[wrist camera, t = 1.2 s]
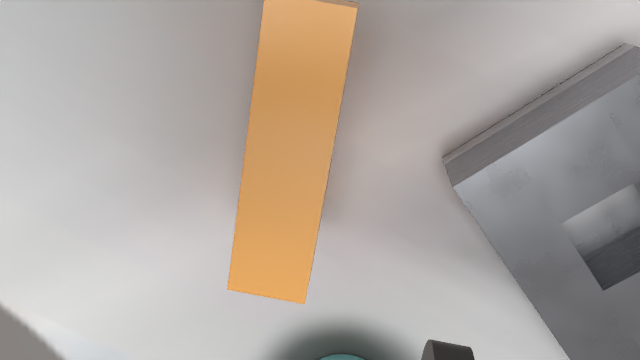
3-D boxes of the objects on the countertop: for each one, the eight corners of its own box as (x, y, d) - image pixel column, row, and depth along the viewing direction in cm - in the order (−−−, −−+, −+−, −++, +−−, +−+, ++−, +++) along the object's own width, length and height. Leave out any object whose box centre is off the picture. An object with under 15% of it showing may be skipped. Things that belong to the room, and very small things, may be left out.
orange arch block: (292, -14, 26) (265, -8, 20) (361, -2, 26) (357, 8, 19) (259, 218, 30) (227, 289, 23) (320, 229, 30) (304, 304, 23)
